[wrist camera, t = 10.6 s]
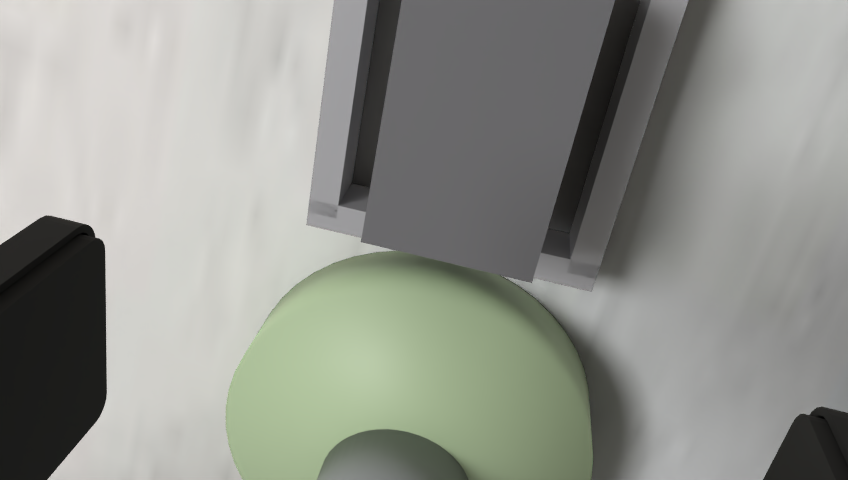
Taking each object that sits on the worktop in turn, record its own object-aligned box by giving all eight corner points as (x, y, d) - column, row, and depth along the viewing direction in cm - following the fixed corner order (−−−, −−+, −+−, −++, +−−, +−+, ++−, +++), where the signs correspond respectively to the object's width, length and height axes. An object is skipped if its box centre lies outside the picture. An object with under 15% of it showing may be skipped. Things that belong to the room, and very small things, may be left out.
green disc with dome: (766, -58, 23) (847, -26, 16) (540, 559, 35) (537, 712, 29) (302, -155, 23) (210, -159, 17) (241, 484, 35) (174, 617, 29)
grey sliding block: (639, -103, 23) (665, -90, 17) (550, 202, 27) (549, 286, 22) (438, -146, 23) (404, -146, 18) (384, 163, 27) (343, 237, 22)
